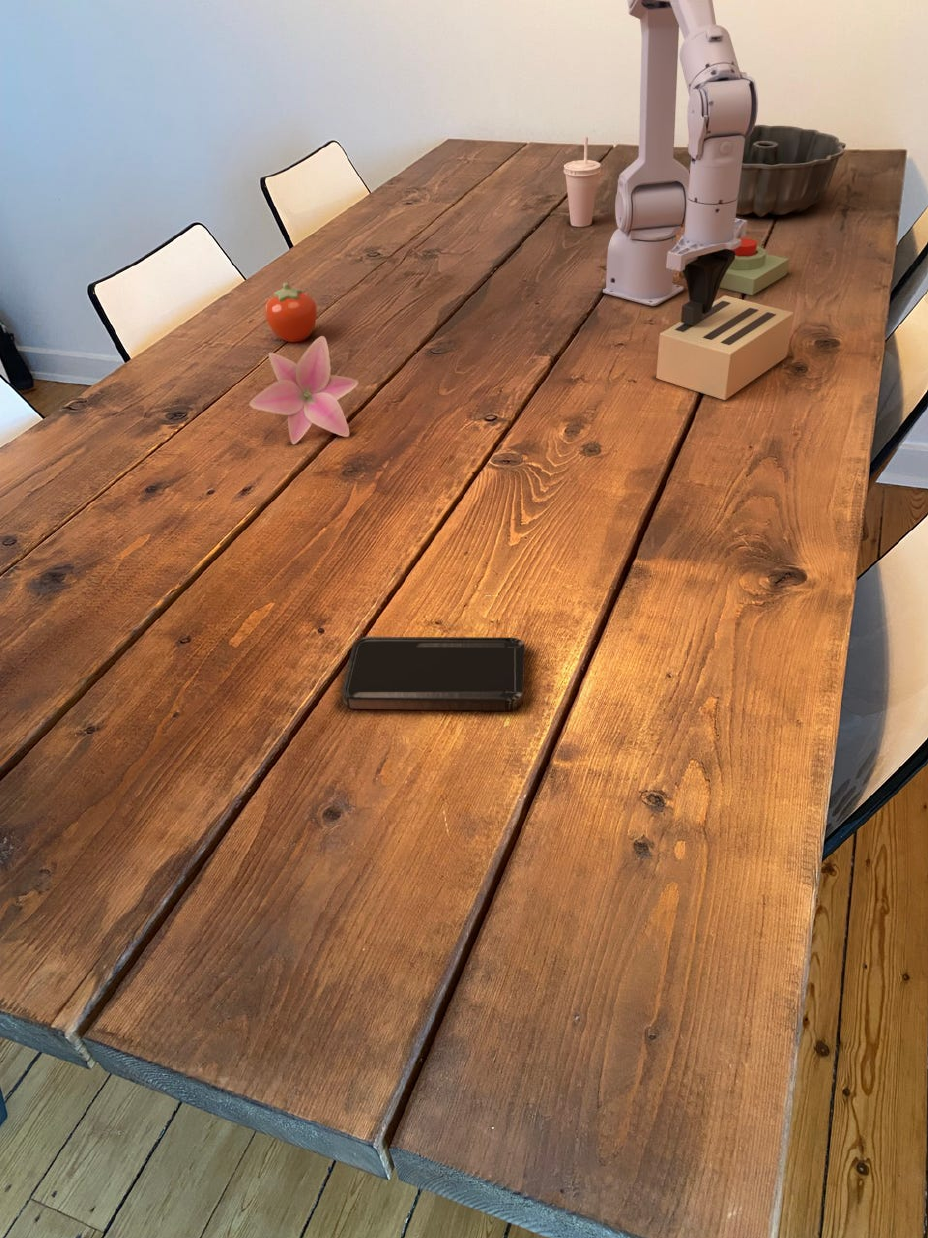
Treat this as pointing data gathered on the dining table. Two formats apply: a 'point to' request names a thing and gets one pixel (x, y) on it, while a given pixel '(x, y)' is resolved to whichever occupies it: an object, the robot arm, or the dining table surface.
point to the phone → (435, 673)
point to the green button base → (754, 272)
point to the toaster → (724, 347)
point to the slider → (691, 313)
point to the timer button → (746, 248)
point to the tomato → (291, 314)
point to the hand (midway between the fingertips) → (700, 310)
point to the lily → (306, 392)
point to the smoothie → (582, 188)
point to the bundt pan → (785, 169)
